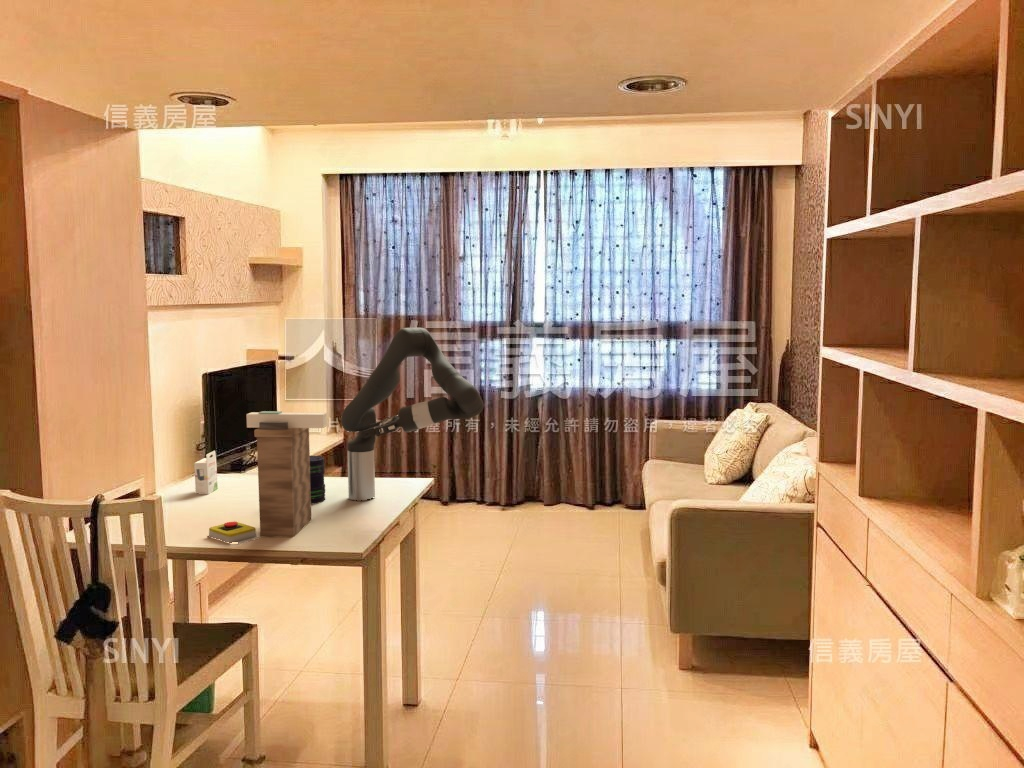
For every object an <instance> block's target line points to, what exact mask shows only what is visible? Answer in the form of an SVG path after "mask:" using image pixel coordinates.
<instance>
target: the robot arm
mask: <svg viewBox="0 0 1024 768" xmlns="http://www.w3.org/2000/svg"><path fill="white" fill-rule="evenodd" d="M410 357H411V358H412V357H413V358H414V357H423V358H424V359H426V360H427V361H428V362H429V363H430V365H431V375H432V376H433V380H434V381H435V383H436V384H437V385H438V386H439V387H440V388H441V390H442V391H444V393H446V395H449V396H451V397H452V399H453V400H451V399H449V398H447V397H446V396H440V397H437V398H434V399H431V400H427V401H422V402H421V401H420V402H417V403H414V404H411V405H407V406H403V407H401V408H399V409H398V411H397V412H398V413H397V415H391V416H390V417H385V418H383V419H381V420H380V421H378V422H377V415H376V410H375V407H376V406H378V404H380V403H383V402H384V401H385V400H387V399H388V398H389V397H390V396H391V395H392V393H393V392H394V391H395V389H396V388H397V387H398V385H399V383H400V380H401V374H400V369H399V367H401V364H403V362H404V360H405V359H407V358H410ZM484 406H485V404H484V401H483V399H482V396H481V395H480V393H479V391H478V389H477V388H476V387H475V386H474V385H473V383H472V382H470V381H468V380H467V379H466V378H464V376H462V375H461V373H460V372H459V371H458V370H457V369H456V368H455V367H454V366H453V364H451V362H450V361H449V360H448V359H447V358H446V356H445V354H444V353H443V352H442V350H441V348H440V347H439V345H438V344H437V342H436V340H435V338H434V337H433V335H432V334H431V333H430V332H429V331H428V329H426V328H424V327H403V328H400V329H399V330H397V332H396V333H395V334H394V335H393V338H392V340H391V341H390V344H389V346H388V348H387V350H386V352H385V353H384V355H383V356H382V358H381V360H380V361H379V363H378V364H377V366H376V368H375V369H374V370H373V371H372V373H371V374H370V376H369V377H368V379H367V380H366V382H365V384H363V386H362V387H361V388H360V390H359V392H358V393H357V394H356V396H355V397H354V398H353V399H352V400H351V401H350V402H349V403H348V404H347V405H346V406H345V407H344V409H343V411H342V413H341V418H340V420H341V422H340V423H341V426H342V428H343V429H344V430H345V431H347V432H350V433H351V432H352V433H355V432H358V433H357V435H356V436H355V437H354V438H353V439H351V440H350V441H348V443H347V445H346V447H347V481H348V482H347V483H348V484H347V486H348V487H347V488H348V492H347V493H348V500H351V501H356V500H357V502H358V501H361V500H362V501H368V500H367V499H370V500H372V499H371V498H373V497H375V498H376V489H375V488H376V481H375V480H376V477H375V471H376V470H375V444H376V440H377V439H376V438H377V437H380V436H384V435H387V434H389V433H392V432H396V431H398V429H399V428H402V431H404V433H410V432H413V431H417V430H421V429H423V428H428V427H430V426H432V425H434V424H438V423H441V422H444V421H447V420H448V421H449V420H463V419H465V420H466V419H471V418H475V417H477V416H478V415H480V414H481V413H482V411H483V410H484ZM380 430H381V431H380ZM373 499H374V498H373Z"/></svg>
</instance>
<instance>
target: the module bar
mask: <svg viewBox="0 0 1024 768" xmlns="http://www.w3.org/2000/svg"><path fill="white" fill-rule="evenodd" d="M245 415H246V428H249V429H251V428H253V429H254V428H256V429H258V428H259V422H288V428H309V429H324V428H326V427H328V412H283V411H277V410H275V411H273V410H272V411H271V410H269V411H268V410H267V411H266V410H264V411H263V410H262V411H259V412H255V411H253V412H249V413H246V414H245Z"/></svg>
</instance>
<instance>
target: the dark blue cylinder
mask: <svg viewBox="0 0 1024 768" xmlns="http://www.w3.org/2000/svg"><path fill="white" fill-rule="evenodd" d="M325 467H326V466H325V457H324V456H321V455H310V486H311V505H313V504H312V503H314V504H319V503H318V502H320V503H323V502H325V501H326V497H325V496H326V484H325V472H326V469H325ZM324 500H325V501H324Z"/></svg>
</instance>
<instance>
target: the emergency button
mask: <svg viewBox="0 0 1024 768" xmlns="http://www.w3.org/2000/svg"><path fill="white" fill-rule="evenodd" d="M208 534H209V536H210V537H213V538H216V539H220V540H222V541H225V542H229V543H232V542H238V544H237V545H240V544H239V543H241V544H244V543H247V541H248V542H251V541H250V540H252V541H255V540H258V538H259V539H261V536H260V535H257V531H256V527H255V526H252V525H249V524H244V523H242V522H239V521H228V522H227V521H226V522H224V523H221V524H218V525H214V526H210V527H209V529H208ZM210 537H209V538H210ZM213 538H212V539H213ZM216 539H215V540H216ZM254 539H255V540H254ZM222 541H221V542H222ZM225 542H224V543H225Z"/></svg>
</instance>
